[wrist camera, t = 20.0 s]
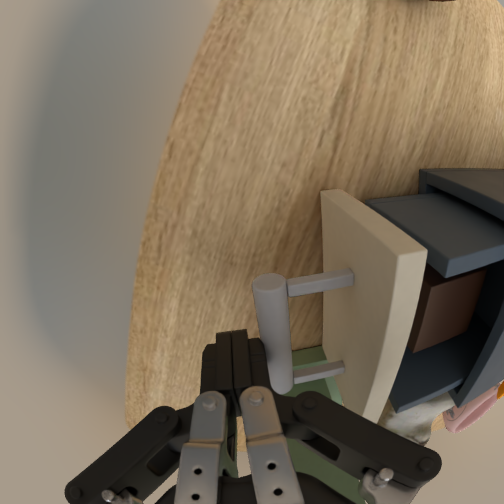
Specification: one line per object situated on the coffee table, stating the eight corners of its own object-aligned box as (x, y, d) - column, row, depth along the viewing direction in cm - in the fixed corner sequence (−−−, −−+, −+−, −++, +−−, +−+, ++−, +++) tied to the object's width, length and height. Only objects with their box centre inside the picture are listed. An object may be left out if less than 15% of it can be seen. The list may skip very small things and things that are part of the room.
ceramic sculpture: (490, 406, 16) (399, 473, 23) (455, 349, 24) (382, 422, 30) (434, 423, 14) (331, 488, 20) (395, 344, 21) (318, 426, 28)
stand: (247, 417, 24) (271, 616, 5) (229, 361, 20) (255, 646, 1) (335, 400, 24) (393, 588, 5) (344, 340, 21) (442, 596, 1)
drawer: (263, 357, 19) (279, 453, 12) (238, 201, 14) (250, 282, 7) (458, 305, 20) (508, 361, 13) (483, 178, 15) (562, 216, 8)
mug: (458, 369, 26) (479, 400, 21) (494, 356, 27) (513, 381, 22) (417, 421, 31) (431, 449, 26) (457, 405, 33) (470, 429, 27)
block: (380, 308, 17) (412, 354, 13) (387, 246, 15) (431, 287, 11) (431, 293, 17) (467, 331, 13) (442, 235, 15) (487, 268, 11)
